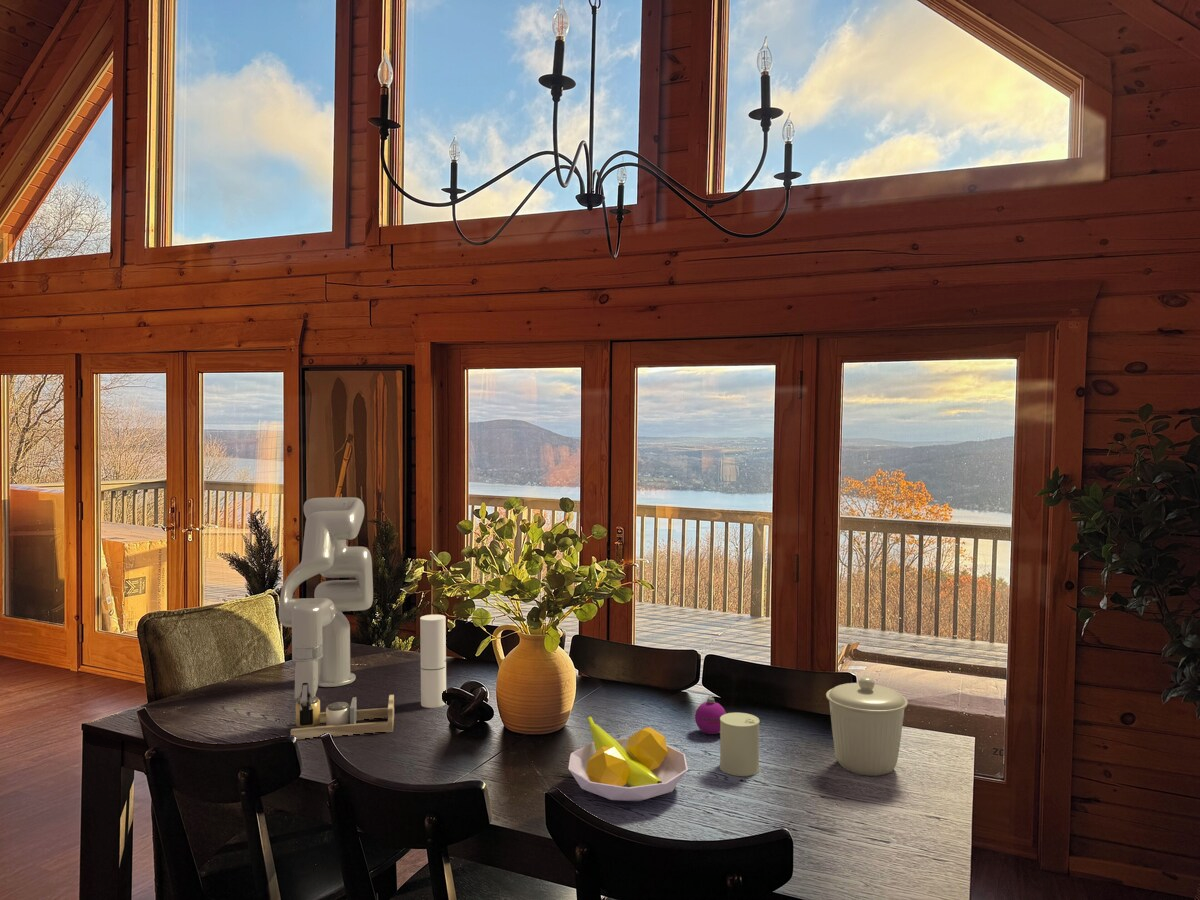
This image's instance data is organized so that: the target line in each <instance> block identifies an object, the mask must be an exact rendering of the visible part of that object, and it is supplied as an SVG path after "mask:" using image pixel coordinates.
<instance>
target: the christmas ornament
mask: <svg viewBox="0 0 1200 900" xmlns="http://www.w3.org/2000/svg"><path fill="white" fill-rule="evenodd" d="M724 714H727V711H726V710H725V708H724V707H723V706H722V705H721V704H720V703H719V702H716V701H715V698H714V695H712V694H710V695H708V698H707V700H706V702H702V703H701V704H700V705H699V706H698V707H697V709H696V711H695V715H694V720H695V721H694V722H695V723H696V725H697V727H698V729H699V730H700V731H701V732H702V733H704V734H708V735H716V734H720V717H721V716H722V715H724Z"/></svg>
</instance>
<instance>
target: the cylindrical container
mask: <svg viewBox="0 0 1200 900" xmlns="http://www.w3.org/2000/svg"><path fill="white" fill-rule="evenodd" d="M446 617H447V616H445V615H444V614H426V615H422V616H420V618H419V620H420V621H419V622H420V623H419V624H420V626H419V627H420V628H419V629H420V631H419V632H420V636H419V637H420V638H419V641H420V706H421V707H423V708H428V709H433V708H434V709H435V708H437V709H438V708H441V707H444V706H445V705H446V704H445V703H444V702H443V701H442V693H443V691H445V690H446V691H447V645H446V644H447V641H446V640H447V637H446V635H447V631H446V629H447V628H446V623H447V621H446V620H447V619H446Z"/></svg>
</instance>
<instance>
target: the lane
mask: <svg viewBox="0 0 1200 900" xmlns="http://www.w3.org/2000/svg"><path fill="white" fill-rule="evenodd" d="M387 704H388V705H387V707H381V708H380V707H377V708H366V709H357V720H356V721H365V720H364V719H369V720H375V719H374V718H382V719H387V720H385V721H373V722H371V721H370V722H362V723H361V722H360V723H356V724H345V725H332V726H326V725H321V726H310V727H296V728H291V729H290V736H291V735H294V736H296V738H297V740H305V738H310V739H314V738H313V737H318V736H320V735H322V734H324V733H330V734H331V735H333V737H332V738H335V737H343V736H342V735H348V736H354V735H353V734H360V735H365V734H364V733H373V734H376V733H375V732H386V733H393V732H394V724H395V723H394V722H395V721H394V720H395V694H389V695H388V703H387ZM384 717H385V718H384ZM387 717H388V718H387ZM319 724H326V711H323V712H321V711H320V723H319Z"/></svg>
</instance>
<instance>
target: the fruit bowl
mask: <svg viewBox="0 0 1200 900" xmlns="http://www.w3.org/2000/svg"><path fill="white" fill-rule="evenodd" d="M587 721H588V723H589V725H590V726H589V729H590V734H591V737H592V742H590V743H589V744H586V745H585V746H582V747H581V748H578V749H577V750H576V749H575V751H573V752H571V753H570V756H569V762H568V770H569V772H570V773H571V775H572V777H574V780H575V781H576V782H577V784H578V785H579V787H580V788H581V789H582V790H585V791H587V792H589V793H592V794H595V795H598V796H600V797H602V798H606V799H608V800H610V801H623V802H641V801H644V800H648V799H651V798H655V797H657V796H658V797H659V796H661V795H665V794H669V793H672V792H673V791H674V789H676V787H677V786H678V784H679V783H680V782H681V780H682V779H683V778H684V776H685V774H686V773H687V772H688V770H689V769H688V764H687V759H686V758H687V757H686V754H685V753H683V752H682V751H679V750H678V749H675V748H673V747H672V746H669V745H667V741H666V740H667V739H666V736H664V735H663V734H662V733H660V732H658V731H657V730H655V729H654V728H652V727H651V726H648V727H645V728H642V729H639V730H638V731H636V732H635V733H633V734H631V735H630V736H629V737H626V738H617V739H616V738H614V737H612V736H611V735H610V734H609V733H608V732H606V731H605V730H604V729H603V728H602V727H601V726H600V725H598V724H597V723H595V722H594V720H593V717H592V716H589V717H587Z"/></svg>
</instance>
